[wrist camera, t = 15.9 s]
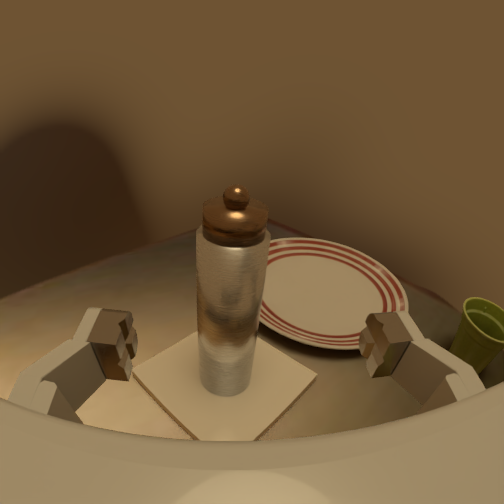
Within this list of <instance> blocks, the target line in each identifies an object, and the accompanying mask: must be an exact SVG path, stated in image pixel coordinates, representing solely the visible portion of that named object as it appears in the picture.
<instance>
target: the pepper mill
mask: <svg viewBox="0 0 504 504" xmlns="http://www.w3.org/2000/svg"><path fill="white" fill-rule="evenodd" d="M267 216H268V207H267V206H266V205H265V204H264V203H262V202H260V201H257V200H254V199H250V195H249V192H248V191H247V189H246V188H245V187H244V186H242V185H238V184H235V185H231V186H229V187H228V188H227V189H226V190H225V191H224V194H223V196H221V197H215V198H211V199H209V200H207V201H205V202H204V203H203V220H202V225H201V226H200V227H199V228H198V229H197V232H196V285H197V327H198V352H199V372H200V381H201V384H202V385H203V387H204V388H205V389H206V390H207V391H209V392H210V393H212V394H214V395H217V396H222V397H231V396H235V395H238V394H240V393H242V392H243V391H245V390H246V389H247V387H248V386H249V384H250V380H251V373H252V367H253V360H254V353H255V347H256V340H257V333H258V326H259V319H260V312H261V305H262V298H263V291H264V284H265V277H266V269H267V262H268V255H269V247H270V240H271V235H270V233H269V232H268V230H267V229H266V225H267Z"/></svg>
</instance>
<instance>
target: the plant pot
mask: <svg viewBox="0 0 504 504" xmlns="http://www.w3.org/2000/svg"><path fill="white" fill-rule="evenodd" d="M502 349H504V310H503V309H502V308H500V307H499V306H498V305H496V304H494V303H493V302H490V301H488V300H485V299H483V298H477V297H472V298H468V299H467V300H465V302H464V304H463V313H462V320H461V323H460V325H459V328H458V331H457V333H456V336H455V338H454V340H453V343H452V345H451V347H450V349H449V352H450V353H451V354H453V355H455V356H456V357H458V358H459V359H461V360H462V361H464V362H466V363H467V364H469V365H470V366H472V367H473V369H474V370H475V372H476V374H477V375H478V374H479V373H480V372H481V371H482V370H483V369H484V368H485V367H486V366H487V365H488V364H489V363H490V362H491V361H492V360H493V359H494V357H495V356H496V355H497V354H498V353H499V352H500V351H501V350H502Z"/></svg>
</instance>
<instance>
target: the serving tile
mask: <svg viewBox="0 0 504 504" xmlns="http://www.w3.org/2000/svg"><path fill="white" fill-rule="evenodd" d="M132 374H133V376H134V378H135V379H136V380H137V381H138V382H139V383H140V385H141V386H142V387H143V388H144V389H145V390H146V391H147V392H148V393H149V395H150V396H151V397H152V398H153V399H154V400H155V401H156V402H157V403H158V404H159V405H160V406H161V407H162V408H163V409H164V410H165V411H166V412H167V413H168V414H169V415H170V417H171V418H172V419H174V420H175V421H176V422H177V423H178V424H179V425H180V426H181V427H182V428H183V429H184V430H185V431H186V432H187V433H188V434H189V435H190V436H191V437H192V438H193V439H195V440H202V441H257V440H258V439H259V438H260V437H261V436H262V435H263V434H264V433H265V432H266V431H267V430H268V429H269V428H270V427H271V426H272V425H273V424H275V423H276V422H277V421H278V420H279V419H280V418H281V416H282V415H283V414H284V413H285V412H286V411H287V410H288V409H289V408H290V407H291V406H292V405H293V404H294V403H295V402H296V401H297V400H298V399H299V398H300V397H301V396H302V394H303V393H304V392H305V391H306V390H307V389H308V388H309V387H310V386H311V385H312V383H313V382H314V381H315V379H316V377H317V374H316V373H315V372H313V371H311V370H310V369H308V368H306V367H305V366H303V365H301V364H300V363H298V362H297V361H295V360H293V359H292V358H290V357H288V356H287V355H285V354H284V353H282V352H280V351H279V350H277V349H276V348H274V347H273V346H271V345H269V344H268V343H266V342H265V341H263V340H262V339H260V338H259V337H257V340H256V347H255V353H254V360H253V367H252V373H251V380H250V384H249V386H248V387H247V389H246V390H245V391H243V392H242V393H240V394H238V395H235V396H231V397H222V396H217V395H214V394H212V393H210V392H209V391H207V390H206V389H205V388H204V387H203V385H202V384H201V381H200V372H199V352H198V331H196V332H195V333H193V334H191V335H189V336H188V337H186V338H184V339H183V340H181V341H179V342H178V343H176V344H174V345H172V346H171V347H169V348H167V349H166V350H164V351H162V352H160V353H159V354H157V355H155V356H153V357H152V358H150V359H148V360H146V361H145V362H143V363H141V364H139V365H138V366H136V367H134V368H132Z"/></svg>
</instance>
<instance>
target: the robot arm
mask: <svg viewBox="0 0 504 504" xmlns="http://www.w3.org/2000/svg"><path fill="white" fill-rule="evenodd" d="M132 323H133V317H132V313H131V312H129V311H121V310H112V309H100V308H93V307H90V308H89V309H87V311H86V313H85V315H84V317H83V319H82V321H81V323H80V325H79V327H78V329H77V331H76V333H75V335H74V337H73V339H72V340H70V339H68V340H67V341H65V342H64V343H62V344H61V345H59V346H58V347H56V348H55V349H53V350H52V351H51V352H49V353H48V354H46V355H45V356H43V357H42V358H40V359H39V360H37V361H36V362H35V363H33V364H32V365H30V366H29V367H27V368H26V369H25V370H23V371H22V372H20V374H19V377H18V379H17V381H16V383H15V385H14V387H13V389H12V391H11V394H10V396H9V398H8V400H5V399H2V398H0V504H504V382H501V383H499V384H497V385H495V386H493V387H491V388H488V389H485V387H484V385H483V383H482V382H481V380H480V378H479V377H478V375H477V374H476V372H475V370H474V369H473V367H472V366H470V365H469V364H467V363H466V362H464V361H462V360H461V359H459V358H458V357H456V356H455V355H453V354H451V353H450V352H448V351H447V350H445V349H443V348H442V347H440V346H439V345H437V344H436V343H434V342H432V341H431V340H429V339H425V338H424V337H423V335H422V334H421V332H420V330H419V329H418V327H417V326H416V324H415V323H414V321H413V320H412V318H411V317H410V315H409V314H408V312H406V311H405V310H404V311H394V312H382V313H370V314H369V315H368V316H367V318H366V321H365V323H366V325H367V326H366V327H365V328H364V329H363V330H362V331H361V333H360V336H359V350H360V352H361V355H362V356H363V357H365V358H366V359H367V362H366V367H367V369H368V371H369V374H370V376H371V378H376V377H384V376H391V377H392V378H393V379H394V380H395V381H396V382H397V383H398V384H399V385H401V386H402V387H403V388H404V389H405V390H406V391H407V392H408V393H409V394H410V395H412V396H413V397H414V398H415V399H416V400H417V401H418V402H419V403H420V404H421V405H423V406H422V407H421V408H420V409H419V411H418V412H417V413H416V415H414V416H411V417H407V418H404V419H400V420H396V421H392V422H388V423H384V424H380V425H375V426H371V427H366V428H361V429H356V430H350V431H345V432H339V433H332V434H325V435H318V436H310V437H301V438H290V439H277V440H260V441H202V440H184V439H172V438H162V437H153V436H145V435H137V434H131V433H124V432H119V431H113V430H108V429H103V428H98V427H93V426H89V425H84V424H83V422H82V421H81V420H80V418H79V417H78V416H77V414H76V413H75V411H76V410H77V409H78V408H79V407H80V406H81V405H82V404H83V403H84V402H85V401H86V400H87V399H88V398H89V397H90V396H91V395H92V394H93V393H94V392H95V391H96V390H97V389H98V388H99V387H100V386H101V385H102V384H103V383H104V382H105V381H106V379H111V380H120V381H129V379H130V375H131V371H132V367H133V365H132V362H131V359H133V358H134V357H135V356H136V352H137V343H138V340H137V333H136V330H135V329H134V328H133V327H132Z"/></svg>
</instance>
